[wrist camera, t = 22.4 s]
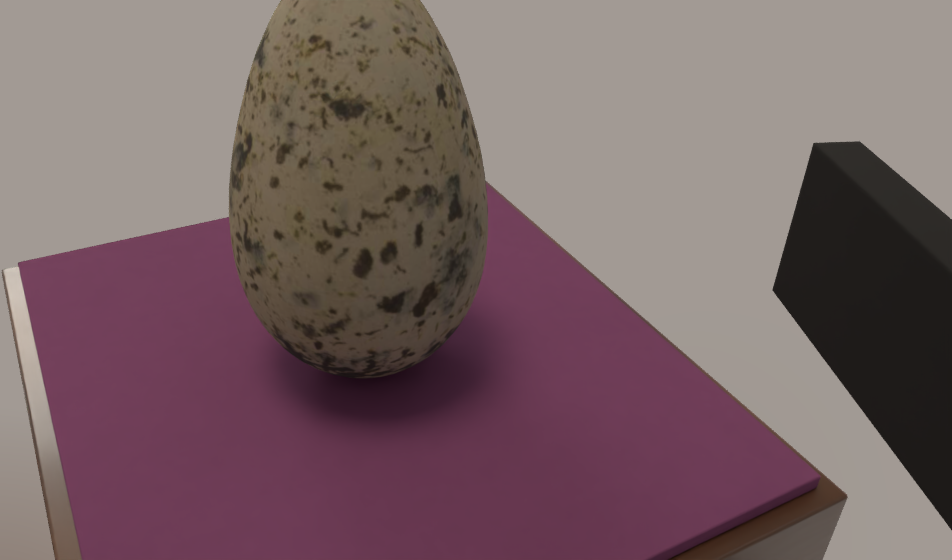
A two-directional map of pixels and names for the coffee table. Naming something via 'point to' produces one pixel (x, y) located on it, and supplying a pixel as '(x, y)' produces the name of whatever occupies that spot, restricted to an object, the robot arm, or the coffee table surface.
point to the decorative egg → (357, 186)
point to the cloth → (384, 419)
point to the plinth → (724, 556)
